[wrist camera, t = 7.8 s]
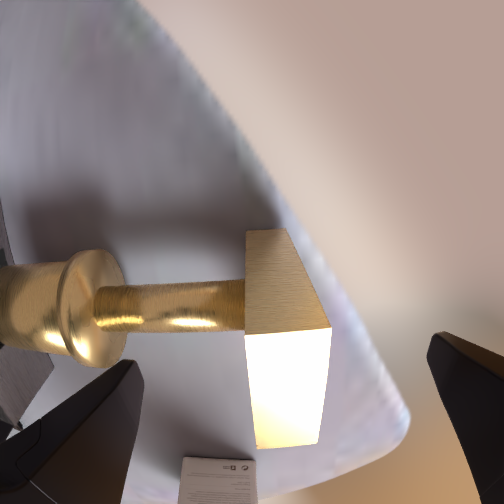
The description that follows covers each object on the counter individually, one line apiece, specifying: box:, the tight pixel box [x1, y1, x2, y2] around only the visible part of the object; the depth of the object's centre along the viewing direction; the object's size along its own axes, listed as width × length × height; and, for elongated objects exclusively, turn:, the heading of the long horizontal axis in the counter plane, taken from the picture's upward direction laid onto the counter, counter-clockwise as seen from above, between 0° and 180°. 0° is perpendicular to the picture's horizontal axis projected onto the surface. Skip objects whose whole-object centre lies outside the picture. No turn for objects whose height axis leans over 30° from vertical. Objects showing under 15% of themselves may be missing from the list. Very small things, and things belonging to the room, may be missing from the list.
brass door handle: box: [0, 228, 332, 449], centre depth 10 cm, size 14×5×8 cm, turn 94°
